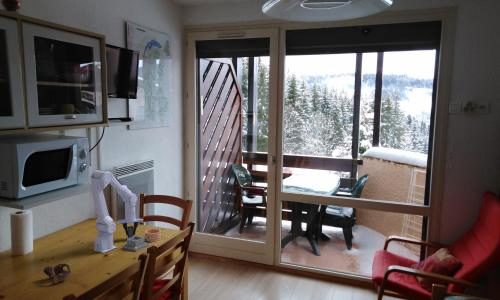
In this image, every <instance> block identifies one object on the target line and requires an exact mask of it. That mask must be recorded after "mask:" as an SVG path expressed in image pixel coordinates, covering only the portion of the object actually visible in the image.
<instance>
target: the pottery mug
mask: <svg viewBox="0 0 500 300" xmlns="http://www.w3.org/2000/svg"><path fill="white" fill-rule="evenodd" d="M64 267H66V268H67V269H64ZM43 272H44V273H43V274H45V275H46V276H48V278H49V279H51V278H53V281H52V283H53V284H56V283H57V284H58V282H62V281H64V280H65V279H67V278H68V277H69V276H70V275H71V274H72V270H71V267H70V265H69V264H68V263H65V262H59V263H58V262H57V263H56V264H54V265H53V266H45V267H43Z"/></svg>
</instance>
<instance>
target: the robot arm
mask: <svg viewBox="0 0 500 300" xmlns="http://www.w3.org/2000/svg"><path fill="white" fill-rule="evenodd" d="M90 180H91V184H90V190H91V191H90V192H91V194H92V199H93V202H94V203H93V204H94V206H95V211H96V214H97V215H96V216H97V219H96V220H95V230H96V231H97V233H98V235H97V236H95V237H94V242H93V243H94V246H93V247H94V249H93V251H94V252H98V253H101V254H104V253H108V252H109V251H113V250H114V249H117V248H118V247H117V246H116V245H114V233H115V231H116V229H117V225H122V227H123V229H124V231H125V234H126V237H128V232H127V227H128V224H133V226H134V236H136V231H137V228H138V226H139V223H142V224H143V223H144V218H136V205H137V201H138V196H137V195H136V193H133V192H132V190H131V189H129V188H128V186H127V185H124V184H121V183H120V182H119V181H118V180H117V179H116V177H115V175H114V174H113V173H112V172H110V171H105V170H99V169H96V170H94V171H92V173H91V175H90ZM109 184H110V185H111V186H112V187H113V188H114V189H116V194H118V195H119V196H120V197H121V198H122V202H124V216H125V218H124V219H119V220H118V219H117V225H116V223H115V222H114V219H113V218H112V216H110V214H109V211H108V205H107V203H106V202H107V201H106V198H105V194H104V189H105V188H106V187H107V186H108V185H109Z"/></svg>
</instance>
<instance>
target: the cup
mask: <svg viewBox="0 0 500 300" xmlns="http://www.w3.org/2000/svg"><path fill="white" fill-rule="evenodd" d="M144 238H145V241H146V242H147V243H154V242H159V241H160V240H161V239H162V231H161V229H159V228H149V229H146V230H145V232H144Z"/></svg>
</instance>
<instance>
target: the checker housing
mask: <svg viewBox="0 0 500 300" xmlns="http://www.w3.org/2000/svg"><path fill="white" fill-rule="evenodd" d="M134 239H138V240H136V241H135V240H134ZM145 241H146V240H145V236H144V237H143V236H139V235H134V236H133V237H131V238H128V237H127V238H126V243H125V244H123V245H122V249H124V250H128V251H132V252H138V251H140V250H143V249H145V248H147V247H149V246H150V242H147V241H146V242H145Z"/></svg>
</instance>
